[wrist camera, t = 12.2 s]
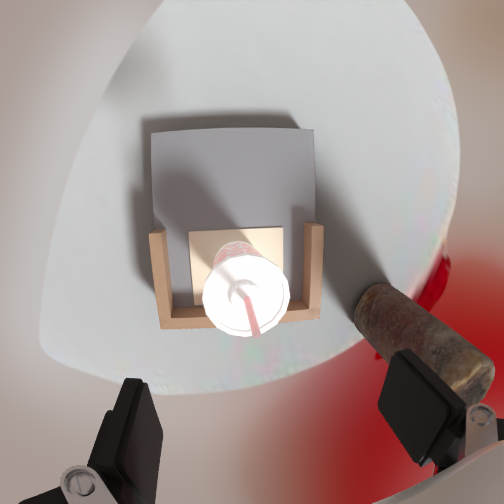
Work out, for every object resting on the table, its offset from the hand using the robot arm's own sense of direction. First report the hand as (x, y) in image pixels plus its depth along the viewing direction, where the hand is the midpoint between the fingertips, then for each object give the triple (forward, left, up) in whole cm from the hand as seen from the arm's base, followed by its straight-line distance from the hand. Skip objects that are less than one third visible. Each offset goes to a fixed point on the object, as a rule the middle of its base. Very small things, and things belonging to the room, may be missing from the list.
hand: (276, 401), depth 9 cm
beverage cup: (0, 0, -20) cm, 20 cm away
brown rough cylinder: (+8, +18, -23) cm, 30 cm away
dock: (-4, 0, -23) cm, 23 cm away
